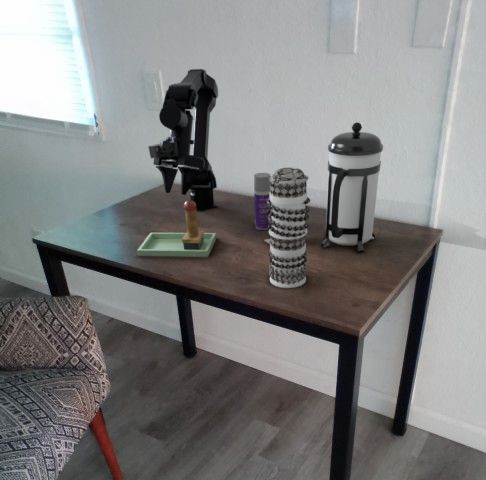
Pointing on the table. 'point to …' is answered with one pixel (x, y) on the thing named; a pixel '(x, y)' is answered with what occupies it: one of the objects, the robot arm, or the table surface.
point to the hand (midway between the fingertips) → (175, 193)
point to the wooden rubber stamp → (192, 228)
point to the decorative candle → (288, 227)
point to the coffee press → (352, 188)
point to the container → (261, 200)
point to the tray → (174, 245)
